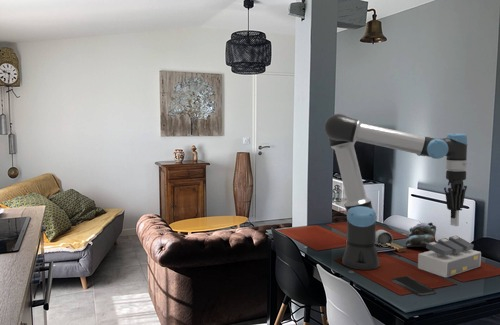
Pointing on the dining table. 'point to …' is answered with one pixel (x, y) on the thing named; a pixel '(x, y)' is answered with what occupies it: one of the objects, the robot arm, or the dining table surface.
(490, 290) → the dining table surface
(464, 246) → the rocker
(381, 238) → the ceramic mug
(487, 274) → the dining table surface
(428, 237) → the lucky cat figurine
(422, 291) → the phone
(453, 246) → the rocker
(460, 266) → the switch unit
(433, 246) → the block
